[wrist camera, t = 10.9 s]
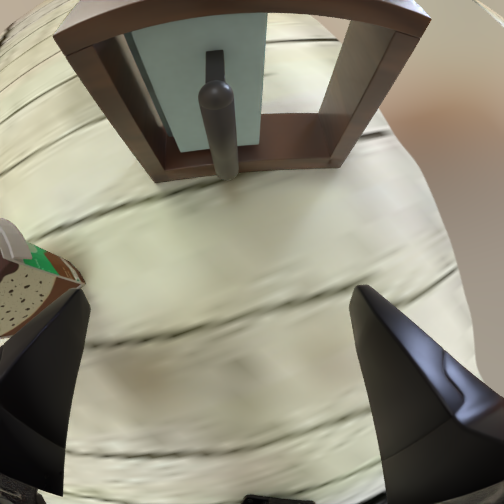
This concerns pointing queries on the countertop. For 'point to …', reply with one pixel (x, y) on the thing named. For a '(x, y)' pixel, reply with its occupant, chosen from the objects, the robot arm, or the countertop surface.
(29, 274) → the food container
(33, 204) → the countertop surface
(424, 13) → the window frame
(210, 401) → the countertop surface
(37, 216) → the countertop surface
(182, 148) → the window sash
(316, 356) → the countertop surface
